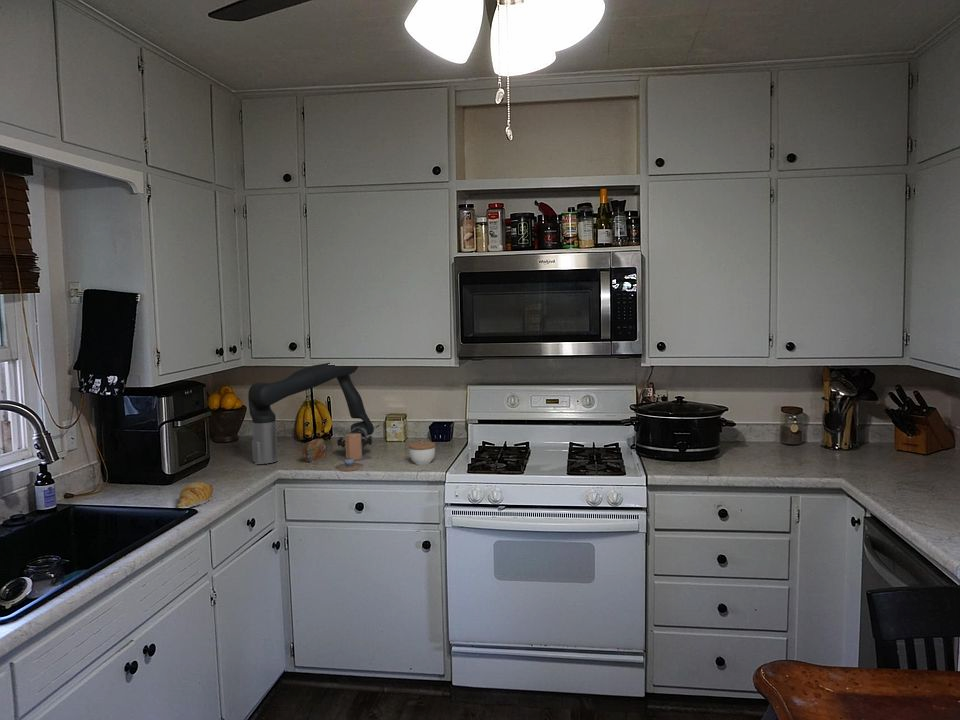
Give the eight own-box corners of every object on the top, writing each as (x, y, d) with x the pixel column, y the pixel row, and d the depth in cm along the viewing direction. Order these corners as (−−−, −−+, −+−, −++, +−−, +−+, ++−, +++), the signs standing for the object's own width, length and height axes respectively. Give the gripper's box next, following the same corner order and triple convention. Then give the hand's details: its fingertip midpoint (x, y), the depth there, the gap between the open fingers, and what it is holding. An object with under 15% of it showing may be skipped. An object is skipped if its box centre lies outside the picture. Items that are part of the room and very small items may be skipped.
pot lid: (343, 473, 265) (342, 464, 264) (330, 467, 273) (330, 459, 273) (368, 467, 271) (368, 459, 271) (355, 462, 280) (355, 454, 280)
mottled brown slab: (308, 464, 279) (307, 444, 279) (301, 464, 280) (300, 443, 280) (327, 456, 294) (326, 436, 293) (321, 455, 295) (320, 436, 294)
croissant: (189, 522, 221) (198, 501, 220) (161, 508, 221) (170, 487, 220) (218, 501, 242) (227, 481, 241) (192, 488, 242) (201, 468, 241)
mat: (348, 463, 279) (347, 462, 279) (334, 458, 288) (334, 457, 288) (374, 458, 286) (373, 457, 286) (360, 453, 296) (360, 453, 296)
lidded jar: (404, 464, 275) (403, 441, 274) (418, 458, 284) (417, 436, 284) (426, 467, 270) (426, 444, 269) (440, 461, 279) (440, 438, 279)
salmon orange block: (345, 459, 284) (344, 436, 283) (347, 456, 290) (346, 433, 289) (361, 459, 284) (360, 435, 283) (362, 455, 291) (361, 432, 290)
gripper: (340, 428, 300) (335, 436, 284) (373, 427, 301) (369, 435, 285) (341, 445, 301) (336, 454, 285) (374, 444, 302) (370, 452, 285)
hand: (353, 444), depth 285 cm, fingers open, 8 cm apart
